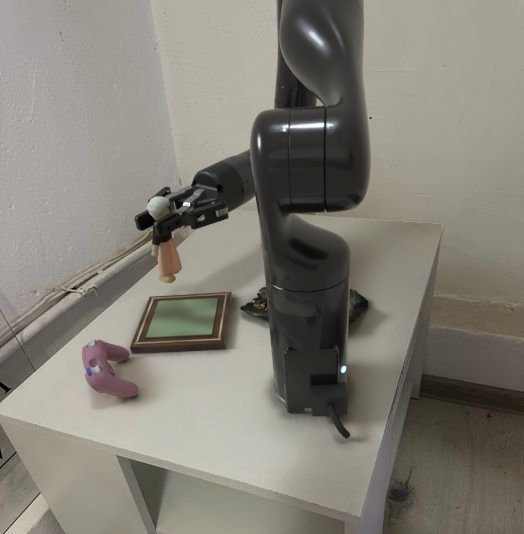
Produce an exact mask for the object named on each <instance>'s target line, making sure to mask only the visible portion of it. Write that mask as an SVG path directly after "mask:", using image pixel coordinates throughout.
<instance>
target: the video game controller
mask: <svg viewBox="0 0 524 534" xmlns="http://www.w3.org/2000/svg"><path fill="white" fill-rule="evenodd" d="M129 357H130V351H129V350H128V349H127V348H126V347H124V346H122V345H118V344H113V343H109V342H107V341H105V340H102V339H95V338H94V339H93V340H92V341H89V342H88V343H87V344H85V345H84V346H83V347H82V348H81V359H82V364H83V367H84V370H85V373H84V377H85V378H84V379H85V380H86V382H87V384H88V385H89V387H90V388H92V390H94V391H95V392H96V393H98V394H106V395H109V396H112V397H118V398H132V397H134V396H137V395H138V393H139V391H140V390H139V387H138V385H137V384H136V383H135V382H133V381H130V380H126V379H123V378H121V377H117V376H114V375H113V374H115V369H114V367H113V366H112V365H111V364H110V362H123V361H126V360H128V359H129Z"/></svg>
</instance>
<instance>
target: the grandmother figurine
mask: <svg viewBox="0 0 524 534" xmlns="http://www.w3.org/2000/svg"><path fill="white" fill-rule="evenodd" d="M151 198H152V197H151ZM151 198H150V199H151ZM169 205H170V202H169V200H168V199H167V198H164V197H154V198H152V199H151V200H150V202H149V203H148V202H147V206H146V210H148V211H149V213H150V215H151V216H153V218H154V219H155V220H156V221H157V220H159V219H161V218H163V217H165V216H167V215H168V214H170V210H169V208H168V207H169ZM173 232H174V231H172V232H171V233H169V234H167V235H165V236H163V237H159V236H157V235H156V233H155V229H154V225H153V226H152V240H151V257H153V258H157V265H158V266H157V267H158V274H159V275H158V277H157V278H158V280H159V281H160V282H163V283H165V284H172V283H174V282H175V281H176V280H177V278H176V276H175V275H177V274H179V273H180V271H182V269H183V266H182V261H181V257H180V254H179V251H178V249H177V246H176V242H175V240H174V237H173Z"/></svg>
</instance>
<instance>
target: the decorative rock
mask: <svg viewBox="0 0 524 534" xmlns="http://www.w3.org/2000/svg"><path fill="white" fill-rule="evenodd" d="M256 296H257V297H254V298H252V299H251V301H249V302H247V303H246V304H244V305H241V306H240V308H239V309H240V311H243V312H245V313H246V314H248V315H251V316H256V317H260V318H267V319H269V317H268V306H267V293H266V286H263V287H261V288H259V289H258V292H256ZM368 307H369V300H368V299H367V298H366V297H365V296H363V295H362V294H360V293H359V292H358V291H357V290H356V289H351V288H350V295H349V321H348V325H352V324H353V323H355V322H356V321H357V320H358V318H359V317H360V315H361V314H362V312H363V311H364V309H365V308H368Z"/></svg>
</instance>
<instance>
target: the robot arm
mask: <svg viewBox="0 0 524 534" xmlns="http://www.w3.org/2000/svg"><path fill="white" fill-rule="evenodd" d="M276 25H277V26H276V31H277V59H276V60H277V61H276V75H275V88H274V100H273V108H271V109H266V110H263V111H261V112H259V113H258V114H257V115H256V117H255V118H254V120H253V122H252V127H251V131H250V137H249V148H248V149H247V150H244V151H241V152H240V153H238V154H235V155H230V156H228V157H225V158H224V159H222V160H219V161H216V162H215V163H213V164H211V165H209V166H206V167H204V168H202V169H200V170H199V171H197V172H196V173H195V174H194V176H193V179H192V182H191V184H190V185H186V186H184V187H181V188H180V189H179V190H177V191H171V187H170V186H164V187H163V188H161V189H160V190H159V191H157V192H156V193H155V194H154V195H153V196H151V198H149V199H148V200H147V204H148V203H149V202H150V200H151V199H152V198H154V197H164V198H167V199H168V200H169V202H170V205H169V207H168V208H169V210H170V214H168V215H167V216H165V217H163V218H161V219H159V220H157V221H156V220H155V219H154V218H153V216H151V215H150V213H149V211H148V210H147V209H146V210H144V211H142V212H140V213H138V214H136V215H134V218H133V219H134V223H135V227H136V229H137V230H138V231H141V232H144V231H146V230H147V229H149V228H152V227H153V226H154V229H155V233H156V235H157V236H159V237H163V236H165V235H167V234H169V233H171V232H172V231H173V232H175V231H177V230H178V229H180V230H181V229H186V228H188V227H190V229H191V230H198V229H201V228H205V227H207V226H209V225H210V226H211V225H214V224H217V223H219V222H223V221H225V220H228V219H229V218H230V216H229V215H230V214H229V213H231V212H233V211H235V210H236V209H238V208H240V207H242V206H243V205H245V204H247V203H248V202H250V201H252V199H254V198H255V204H256V209H257V216H258V223H259V230H260V232H259V233H260V241H261V252H262V260H263V269H264V280H265V282H264V283H265V287H266V293H267V306H268V317H269V318H268V327H269V338H270V348H271V360H272V369H273V371H272V372H273V380H274V381H273V388H274V389H273V390H274V394H275V396H276V398H277V400H278V401H279V402H280V403H281V404H282V405H284V406H285V407H286V412H287V414H297V413H299V414H302V413H303V414H305V413H311V416H312V417H330V419H331V421H332V424H333V425H334V427H335V429H336V430H337V432H338V434H339V435H341V437H343V438H344V439H349V438H350V437H351V435H352V434H351V432H350V431H349V430H347V429H346V427H345V426H344V424H343V422H342V421H341V420H340V417H339V416H347V415H348V409H349V407H348V406H349V394H348V393H349V392H348V347H349V323H348V321H349V295H350V289H351V265H352V252H351V248H350V245H349V243H348V241H346V239H344V237H342V236H341V235H340V234H337V233H335V232H334V231H332V230H329V229H326V228H323V227H320V226H317V225H314V224H313V223H310V222H308V221H306V220H305V219H304V218H302V217H300V216H299V215H298V214H323V213H340V212H347V211H351V210H354V209H357V208H358V207H359V206H360V205H362V203H363V201H364V199H365V197H366V195H367V192H368V190H369V184H370V180H371V170H372V169H371V168H372V150H371V136H370V126H369V117H368V108H367V100H366V90H365V82H364V81H365V79H364V47H365V46H364V45H365V43H364V42H365V4H364V0H276ZM318 101H320V102H321V104H322V105H317V103H318ZM173 232H172V233H173Z"/></svg>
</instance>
